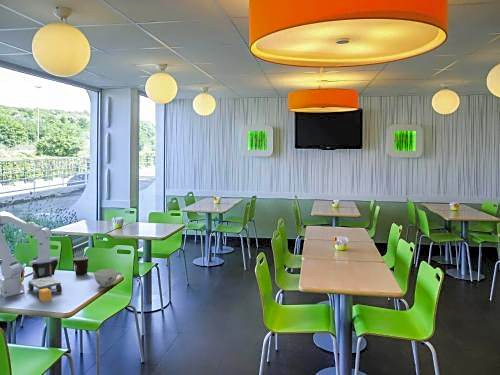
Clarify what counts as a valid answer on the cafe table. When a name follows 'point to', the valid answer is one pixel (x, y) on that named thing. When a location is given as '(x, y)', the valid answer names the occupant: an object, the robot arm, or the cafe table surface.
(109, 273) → the teacup
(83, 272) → the coffee mug
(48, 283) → the trolley
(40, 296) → the chock
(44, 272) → the supplement container
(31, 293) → the cafe table surface
